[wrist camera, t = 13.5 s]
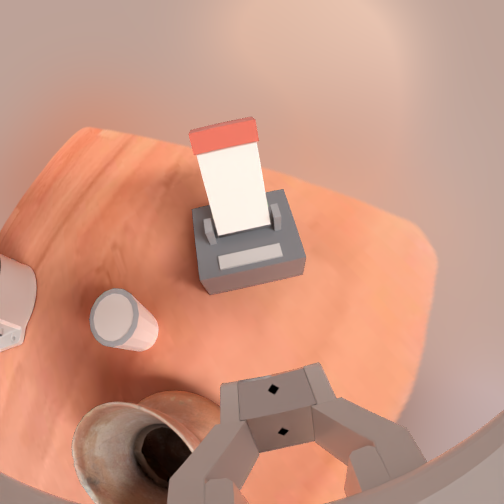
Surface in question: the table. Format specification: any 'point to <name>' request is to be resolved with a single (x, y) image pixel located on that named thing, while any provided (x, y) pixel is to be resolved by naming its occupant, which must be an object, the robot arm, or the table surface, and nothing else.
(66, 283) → the table surface
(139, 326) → the shot glass
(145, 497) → the ceramic jug
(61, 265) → the table surface
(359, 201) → the table surface
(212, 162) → the lever
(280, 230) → the switch box
